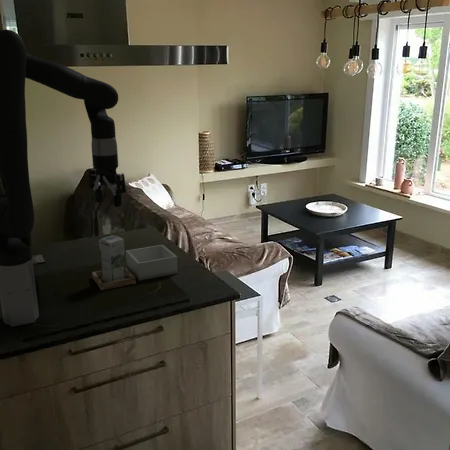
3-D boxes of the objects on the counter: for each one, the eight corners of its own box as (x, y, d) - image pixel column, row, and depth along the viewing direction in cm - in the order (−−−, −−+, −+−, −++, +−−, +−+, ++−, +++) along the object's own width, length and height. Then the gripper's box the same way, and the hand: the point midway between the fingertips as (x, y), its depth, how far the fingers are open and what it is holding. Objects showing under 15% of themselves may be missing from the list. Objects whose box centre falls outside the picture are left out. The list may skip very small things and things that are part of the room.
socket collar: (135, 283, 167) (135, 277, 166) (101, 290, 162) (100, 284, 162) (125, 271, 176) (125, 266, 176) (92, 277, 172) (92, 272, 171)
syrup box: (114, 275, 173) (112, 234, 169) (126, 280, 170) (124, 238, 165) (101, 281, 169) (97, 238, 165) (112, 285, 165) (109, 242, 161)
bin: (177, 273, 175) (177, 256, 173) (138, 280, 169) (137, 263, 167) (163, 260, 187) (162, 244, 185) (126, 266, 181) (125, 250, 179)
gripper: (130, 153, 156) (133, 205, 160) (99, 148, 164) (103, 198, 169) (110, 156, 150) (114, 210, 155) (79, 151, 158) (84, 203, 163)
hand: (108, 204), depth 162 cm, fingers open, 8 cm apart
